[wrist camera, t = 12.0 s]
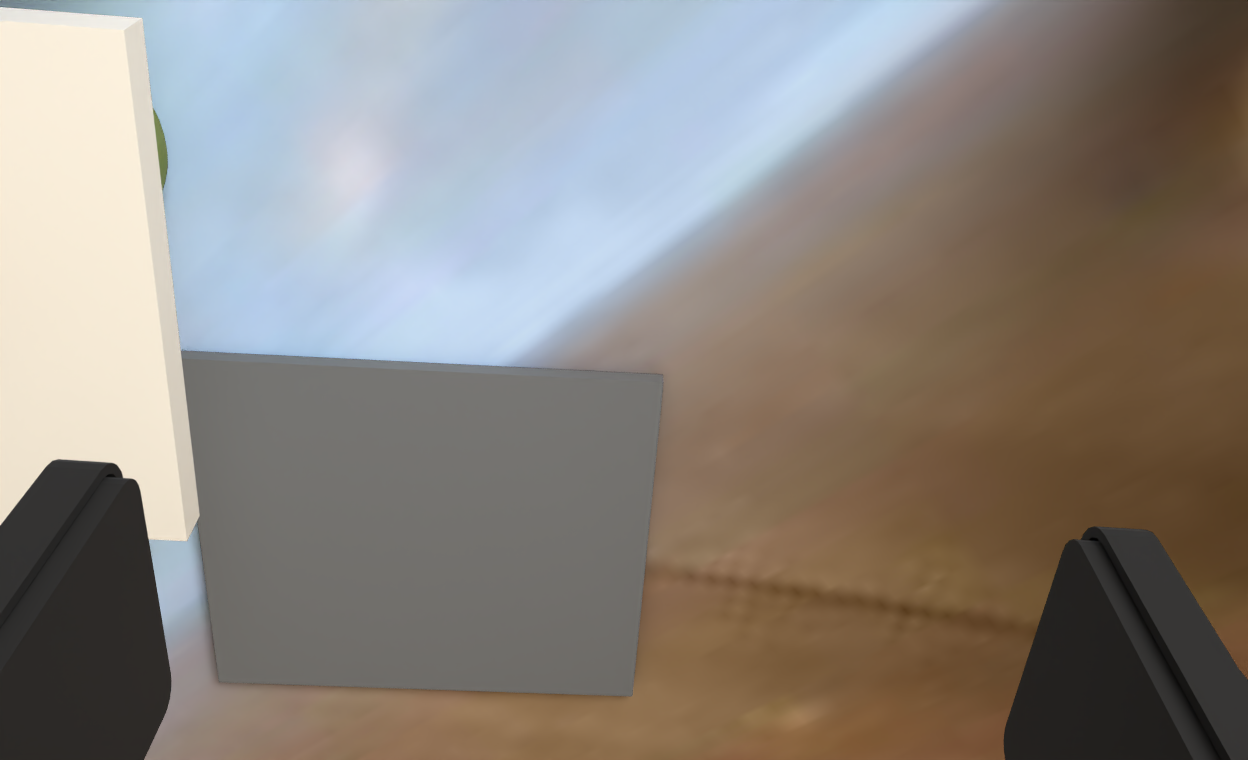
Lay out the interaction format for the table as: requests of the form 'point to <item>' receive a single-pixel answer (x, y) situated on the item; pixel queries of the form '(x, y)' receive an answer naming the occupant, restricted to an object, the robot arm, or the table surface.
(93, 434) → the lid
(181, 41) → the table surface
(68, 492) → the robot arm
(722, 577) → the table surface
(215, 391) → the mat
